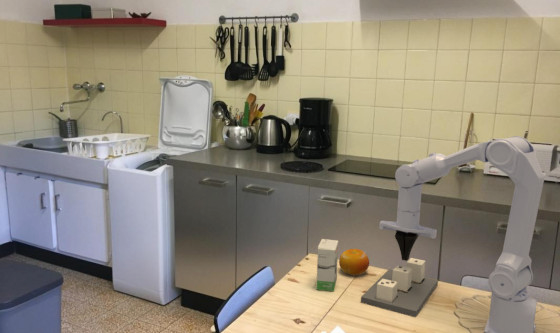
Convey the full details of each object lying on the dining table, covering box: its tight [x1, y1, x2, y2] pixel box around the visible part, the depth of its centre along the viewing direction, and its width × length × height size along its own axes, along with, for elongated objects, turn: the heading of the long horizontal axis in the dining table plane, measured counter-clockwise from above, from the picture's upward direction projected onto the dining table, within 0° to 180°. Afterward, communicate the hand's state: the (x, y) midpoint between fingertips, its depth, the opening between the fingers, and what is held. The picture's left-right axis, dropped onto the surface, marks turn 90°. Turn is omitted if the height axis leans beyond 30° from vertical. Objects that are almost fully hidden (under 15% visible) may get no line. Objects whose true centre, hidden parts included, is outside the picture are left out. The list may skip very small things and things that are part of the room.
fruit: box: [338, 248, 370, 276], centre depth 139 cm, size 8×8×8 cm
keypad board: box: [360, 268, 439, 318], centre depth 126 cm, size 14×22×2 cm, turn 149°
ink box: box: [316, 238, 339, 292], centre depth 130 cm, size 9×5×12 cm, turn 168°
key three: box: [376, 279, 398, 303], centre depth 120 cm, size 4×4×5 cm
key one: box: [406, 257, 426, 284], centre depth 131 cm, size 4×4×5 cm
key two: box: [392, 264, 412, 292], centre depth 125 cm, size 4×4×5 cm
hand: (405, 259), depth 125 cm, fingers closed
